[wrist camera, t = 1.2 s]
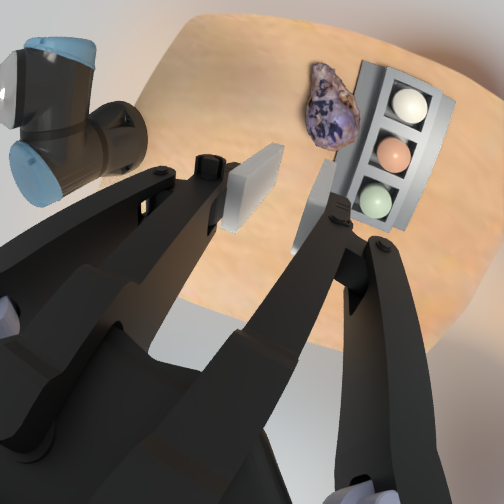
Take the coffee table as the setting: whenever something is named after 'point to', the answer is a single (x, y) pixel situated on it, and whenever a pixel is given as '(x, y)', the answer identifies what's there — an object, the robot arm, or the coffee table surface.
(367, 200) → the button sage
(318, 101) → the purple lumpy piece
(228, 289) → the coffee table surface
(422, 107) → the button cream
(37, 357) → the robot arm
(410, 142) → the button panel
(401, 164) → the button terracotta
